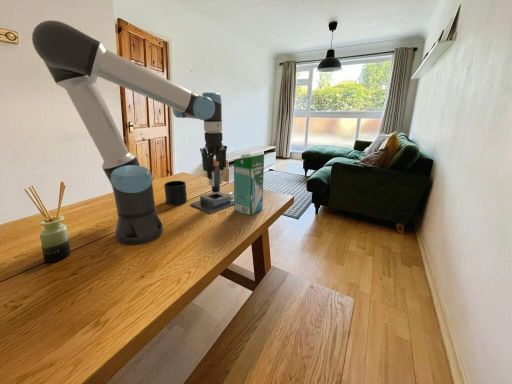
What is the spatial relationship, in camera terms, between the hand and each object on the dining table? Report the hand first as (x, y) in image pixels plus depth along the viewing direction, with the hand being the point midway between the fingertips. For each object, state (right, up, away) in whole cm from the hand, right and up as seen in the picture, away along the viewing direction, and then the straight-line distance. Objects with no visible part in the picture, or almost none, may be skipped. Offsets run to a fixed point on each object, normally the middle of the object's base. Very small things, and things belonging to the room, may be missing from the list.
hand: (215, 184), depth 112 cm
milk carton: (+15, -12, -3) cm, 19 cm away
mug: (-19, -8, +6) cm, 21 cm away
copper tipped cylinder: (0, -3, +1) cm, 3 cm away
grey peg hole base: (+1, -9, +4) cm, 10 cm away
